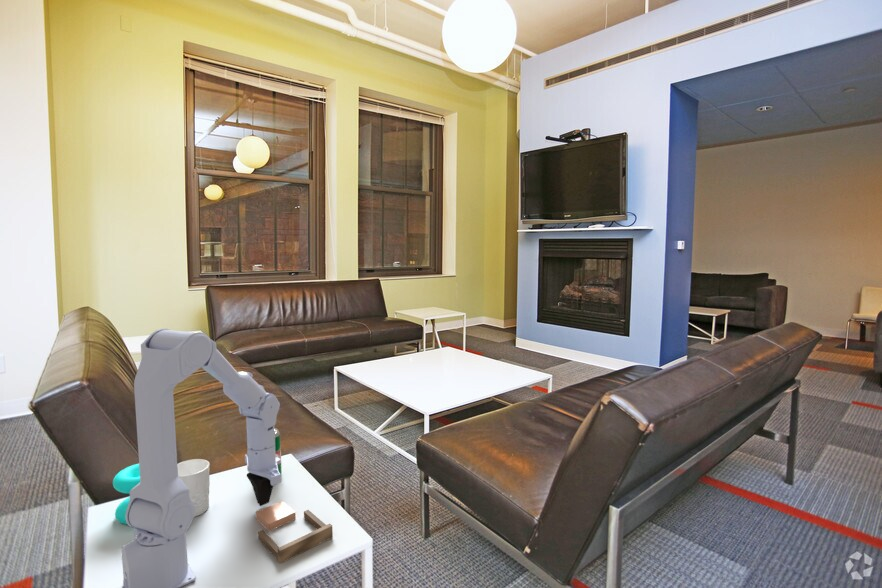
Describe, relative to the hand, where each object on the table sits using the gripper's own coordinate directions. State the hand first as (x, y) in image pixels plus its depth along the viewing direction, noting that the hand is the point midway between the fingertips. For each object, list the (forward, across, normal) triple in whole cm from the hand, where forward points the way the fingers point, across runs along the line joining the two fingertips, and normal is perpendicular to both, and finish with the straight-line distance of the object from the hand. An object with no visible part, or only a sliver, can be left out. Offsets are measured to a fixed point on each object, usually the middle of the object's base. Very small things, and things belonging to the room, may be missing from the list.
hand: (263, 502), depth 103 cm
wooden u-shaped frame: (+1, -14, 0) cm, 14 cm away
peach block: (+2, -6, 0) cm, 6 cm away
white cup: (+1, +10, +12) cm, 16 cm away
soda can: (+1, +12, -7) cm, 14 cm away
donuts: (+1, +16, +20) cm, 26 cm away
